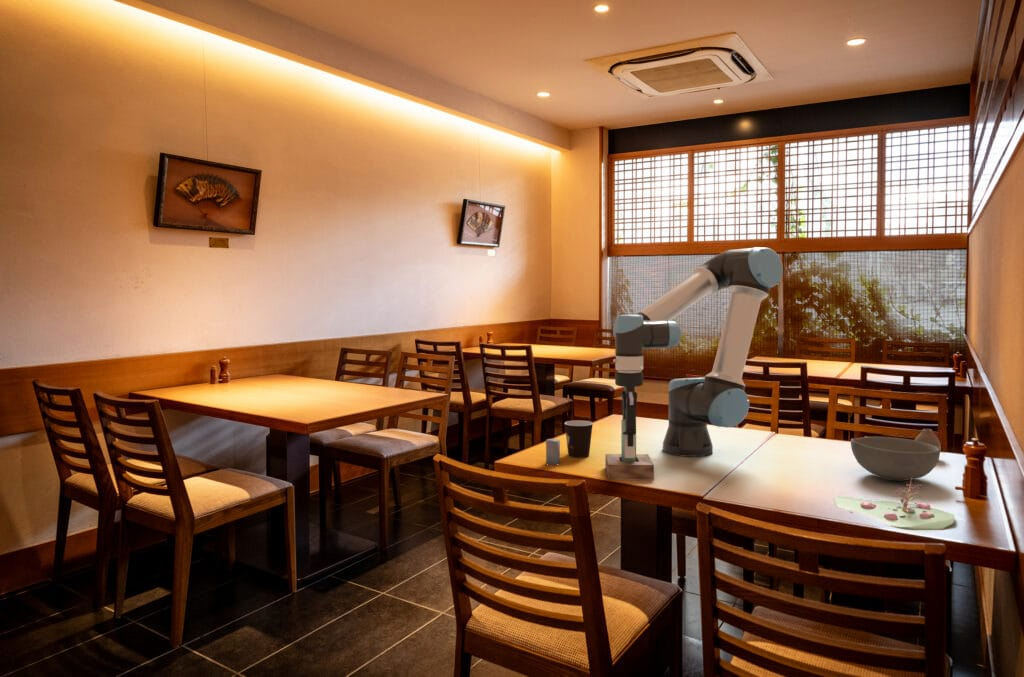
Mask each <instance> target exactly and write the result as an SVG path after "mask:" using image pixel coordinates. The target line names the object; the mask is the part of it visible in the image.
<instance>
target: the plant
mask: <svg viewBox="0 0 1024 677" xmlns="http://www.w3.org/2000/svg"><path fill="white" fill-rule="evenodd" d="M912 480H914V479H913V478H911V480H910V483H909V484H908V483H906V484H905V487H904V489H902V494H900V496H899V495H898V494H897V493H899V492H900V490H901V487H897V488H898V490H895V492H894V493H896V495H897V497H898V498H900V502H897V501H896V502H895V501H890V500H881V501H872V500H873V499H871V500H863V499H864V498H861V499H854V498H855V497H851V498H849V497H847V496H835V497H834V498H833V503H834V502H835V503H834V504H835V506H836V505H837V506H838V507H841V508H845V509H846V510H847V509H848V510H853V511H859V512H860V513H862V514H866V515H869V516H872V517H873V518H876V519H878V520H880V521H883V522H885V523H886V524H889V525H891V526H890V527H892V526H894V527H893V528H896V527H897V529H903V528H904V530H910V531H912V530H913V531H939V530H943V529H946V528H948V527H950V526H952V525H953V524H954V523H955V520H956V519H955V514H953V513H950V512H948V511H944V510H941V509H937V508H934V507H931V505H930V504H928V503H926V502H924V503H921V502H917V503H916V502H914V503H908V502H909V501H911V500H912V499H913V498H915V497H916V494H917V493H918V494H921V491H917V492H913V491H914V488H916V489H918V490H920V489H921V487H923V484H916V485H914V484H913V483H912ZM913 486H914V487H913ZM907 487H908V488H907ZM906 489H907V490H906ZM911 490H912V491H911ZM904 494H905V497H904ZM911 495H913V496H912V497H911V498H909V497H910V496H911ZM903 497H904V498H903ZM917 497H918V498H920V496H919V495H918V496H917ZM834 500H835V501H834ZM837 506H836V507H837ZM838 507H837V508H838ZM846 510H845V511H846Z"/></svg>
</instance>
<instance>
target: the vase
mask: <svg viewBox="0 0 1024 677" xmlns="http://www.w3.org/2000/svg"><path fill="white" fill-rule="evenodd" d="M933 431H934V430H932V429H930V428H923V429H922V430H921V432H920V433H919V434H918V435H917V436H916V437H915V438H914V440H916V441H920V442H924V443H927V444H930V445H933V446H936V447H938V448H939V450H940V452H941V449H942V447H941V442H940V439H939V438H938V436H937V435H936V434H935V432H933Z"/></svg>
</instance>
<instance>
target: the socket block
mask: <svg viewBox="0 0 1024 677" xmlns="http://www.w3.org/2000/svg"><path fill="white" fill-rule="evenodd" d="M604 459H605V463H604V464H605V465H604V466H605V471H606V474H607V479H608V480H615V479H634V481H636V480H637V481H641V480H642V481H644V480H645V481H653V480H655V464H654V463H653V460H652V459H651V457H650V455H649V454H647V453H645V454H644V453H636V462H621V453H605V458H604ZM635 479H636V480H635Z"/></svg>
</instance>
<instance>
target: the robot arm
mask: <svg viewBox="0 0 1024 677" xmlns="http://www.w3.org/2000/svg"><path fill="white" fill-rule="evenodd" d="M783 273H784V268H783V262H782V260H781V259H780V256H779V254H778V253H777V252H776V251H775V250H774V249H772V248H769V247H760V246H755V247H749V248H738V249H737V248H736V249H735V248H733V249H728V250H725V251H723V252H721V253H719V254H717V255H715V256H714V257H711V258H710V259H709V260H706V261H705V262H704V263H702V264H701V265H700V266H698V267H697V268H696V269H695V270H694V271H693V274H692V275H690V276H689V277H688V278H686V279H685V280H683V281H682V282H680V283H679V284H678V285H677V286H674V287H673V288H672V289H671V290H669V291H667V292H666V293H665V294H664V295H662V296H661V297H659V298H658V299H655V301H653V302H652V303H650V304H648V305H647V306H646V307H645V308H643V309H642V310H640V311H639V312H638V313H636V314H620V315H617V316H616V318H615V324H614V326H613V329H612V333H613V337H614V340H615V341H614V343H615V345H614V346H615V348H614V352H615V358H614V359H613V360H612V361H613V363H615V365H614V366H615V368H614V369H615V370H617V371H616V372H615V373H614V378H615V379H614V381H615V382H614V384H615V385H616V386H618V387H623V390H622V391H621V392H620V393H621V394H620V395H621V406H622V420H623V419H625V424H626V431H625V432H623V434H625V458H635V433H636V434H637V401H638V393H637V391H635V387H636V388H637V387H642V386H643V385H644V373H643V370H644V349H660V348H661V349H663V348H666V349H668V348H673V347H676V346H678V344H680V342H681V338H682V330H681V327H680V325H679V323H678V322H676V321H675V320H674V319H675V318H676V317H678V316H679V315H680V314H682V313H683V312H684V311H686V310H687V309H689V308H690V307H692V306H693V305H694V304H696V303H697V302H699V301H701V300H702V299H703V298H705V297H706V296H707V295H715V294H716V293H718V292H719V291H721V290H724V289H727V290H728V292H730V294H731V296H730V298H729V299H730V300H729V303H728V307H727V310H726V315H725V320H724V322H723V327H722V331H721V335H720V338H719V342H718V347H717V350H716V355H715V357H714V358H715V359H714V363H713V367H712V370H711V372H709V373H708V374H706V375H704V377H686V378H685V377H684V378H674V379H671V380H669V384H668V391H667V393H668V427H667V429H666V433H665V435H664V438H663V441H662V451H663V452H665V453H667V454H671V455H675V456H683V457H703V456H709V455H711V454H712V453H713V443H712V438H711V435H710V432H709V430H708V429H709V428H708V424H709V425H712V426H716V427H717V428H718V427H719V428H722V427H723V428H733V427H736V426H738V425H739V424H741V423H742V422H743V421H744V419H745V418H746V417H747V415H748V412H749V408H750V400H749V397H748V394H747V393H746V392H745V389H746V384H745V383H744V381H743V374H744V371H745V367H746V362H747V359H748V355H749V352H750V348H751V344H752V343H751V342H752V339H753V334H754V331H755V328H756V327H755V326H756V323H757V318H758V315H759V311H760V307H761V303H762V301H763V300H764V299H767V298H768V296H769V294H770V290H771V288H773V287H775V286H777V285H778V284H779V283H780V282H781V280H782V278H783Z"/></svg>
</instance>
